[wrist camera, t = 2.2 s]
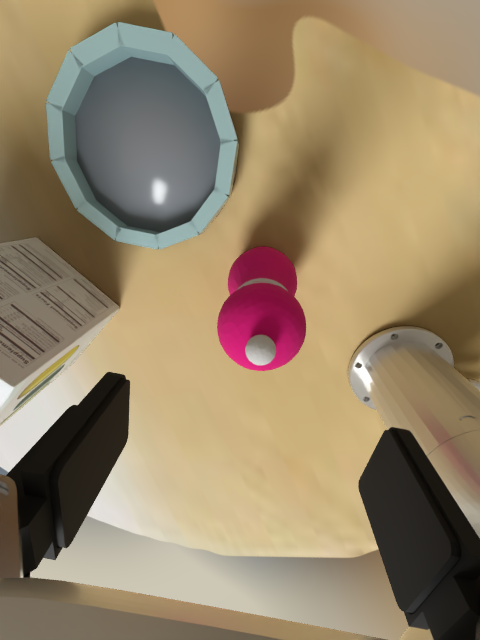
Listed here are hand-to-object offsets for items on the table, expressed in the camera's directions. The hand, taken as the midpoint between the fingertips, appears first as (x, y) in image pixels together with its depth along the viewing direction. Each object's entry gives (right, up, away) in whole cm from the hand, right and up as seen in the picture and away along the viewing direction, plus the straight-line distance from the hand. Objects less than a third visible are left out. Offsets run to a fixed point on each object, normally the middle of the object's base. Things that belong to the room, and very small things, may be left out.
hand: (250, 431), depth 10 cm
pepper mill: (+2, +10, +24) cm, 26 cm away
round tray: (-10, +21, +20) cm, 31 cm away
